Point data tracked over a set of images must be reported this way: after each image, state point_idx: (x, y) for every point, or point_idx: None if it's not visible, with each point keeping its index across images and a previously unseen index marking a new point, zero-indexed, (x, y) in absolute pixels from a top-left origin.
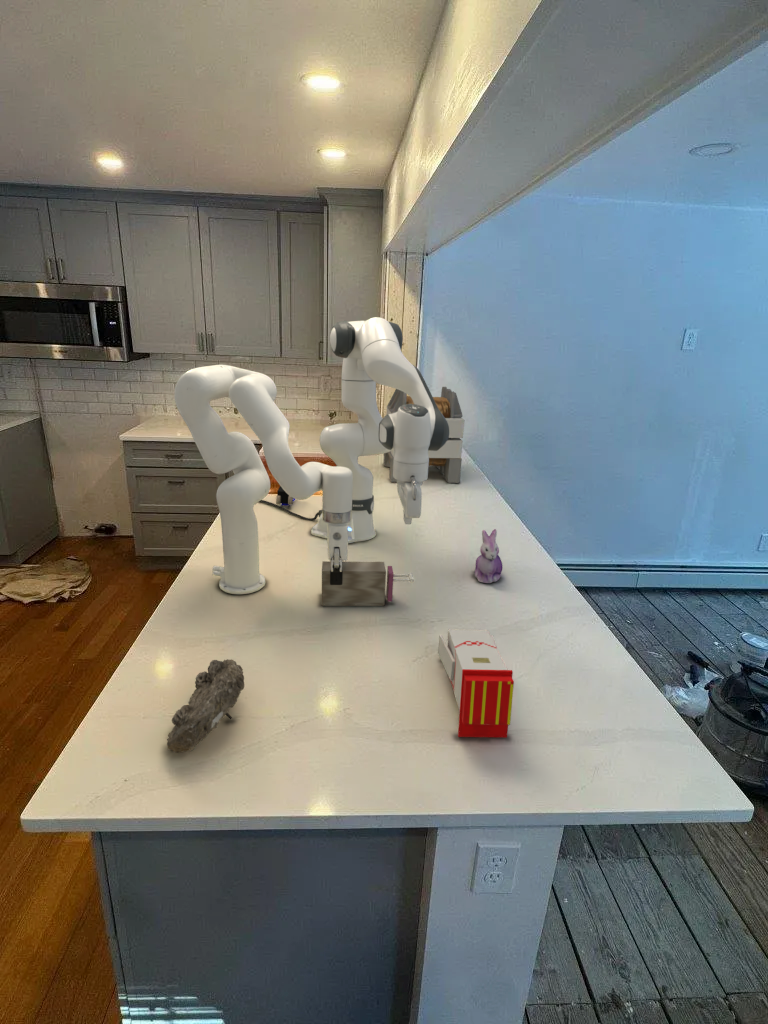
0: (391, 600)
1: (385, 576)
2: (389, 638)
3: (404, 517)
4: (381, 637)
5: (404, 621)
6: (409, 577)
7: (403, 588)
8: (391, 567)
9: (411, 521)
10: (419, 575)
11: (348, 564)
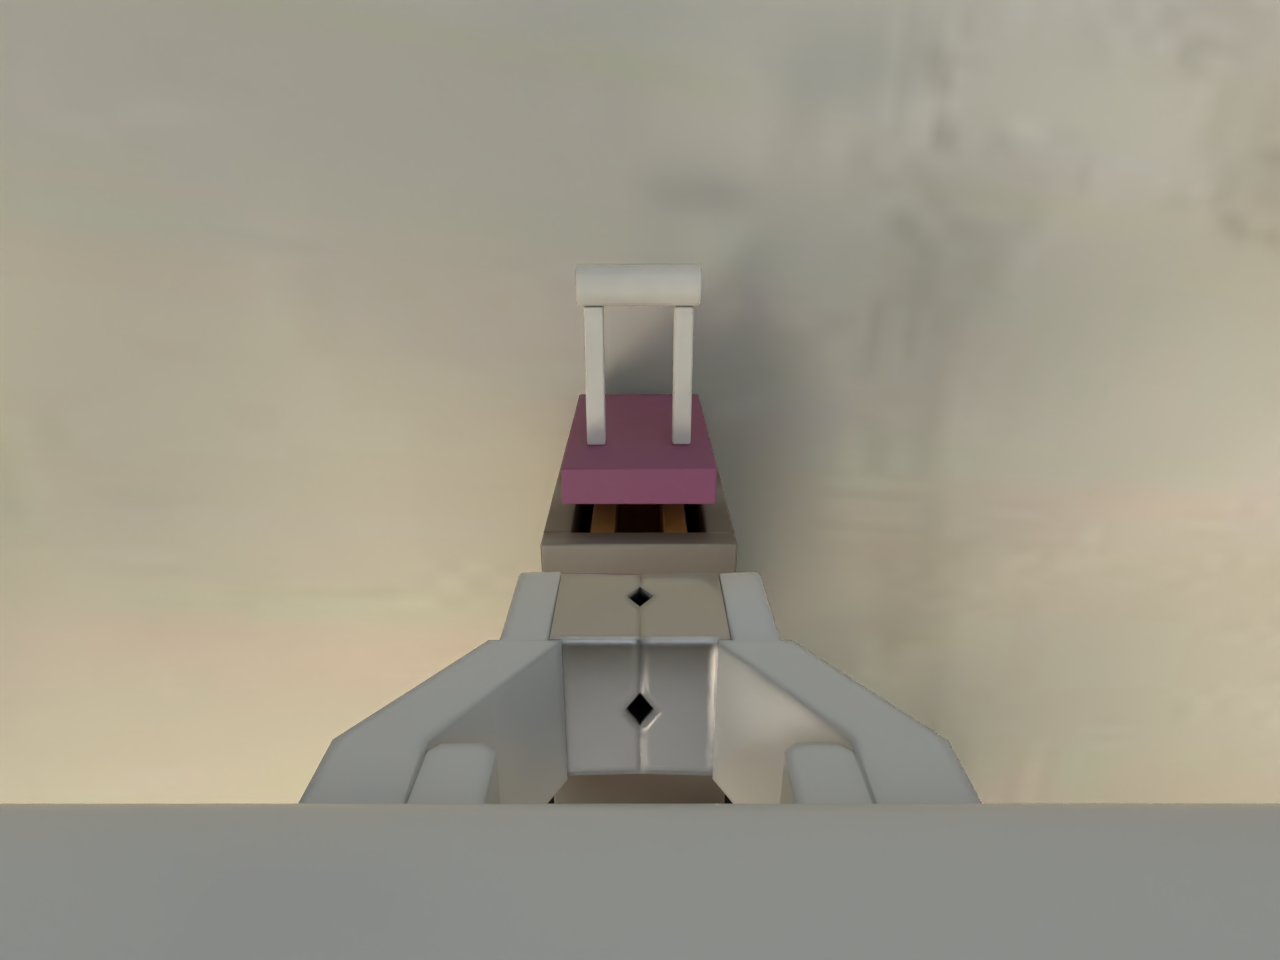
0: (699, 400)
1: (731, 525)
2: (1083, 436)
3: (674, 757)
4: (1063, 478)
5: (912, 329)
6: (652, 304)
7: (460, 283)
8: (595, 475)
9: (766, 595)
10: (219, 122)
11: (607, 794)
